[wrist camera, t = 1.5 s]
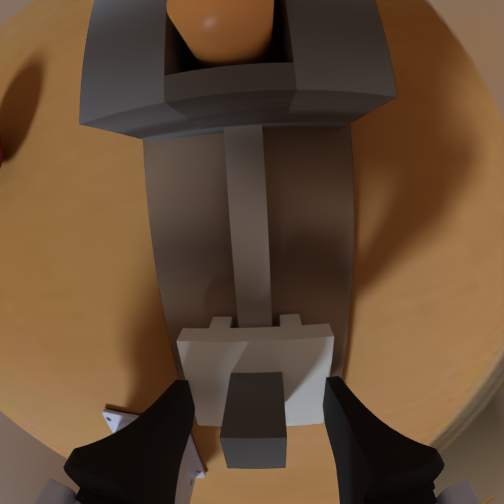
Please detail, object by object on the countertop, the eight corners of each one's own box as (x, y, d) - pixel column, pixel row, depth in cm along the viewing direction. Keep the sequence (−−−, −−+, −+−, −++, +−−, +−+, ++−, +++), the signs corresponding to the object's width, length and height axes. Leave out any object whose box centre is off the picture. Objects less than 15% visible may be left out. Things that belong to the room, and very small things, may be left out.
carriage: (317, 395, 15) (333, 479, 9) (205, 398, 16) (184, 480, 10) (324, 312, 14) (357, 397, 8) (188, 316, 14) (147, 400, 8)
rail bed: (330, 404, 18) (350, 488, 11) (195, 408, 18) (173, 490, 11) (332, 51, 12) (378, -26, 5) (153, 65, 13) (83, 5, 5)
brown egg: (273, 80, 8) (279, 29, 5) (199, 87, 8) (163, 42, 5) (268, 23, 8) (269, -39, 4) (198, 29, 8) (169, -27, 4)
